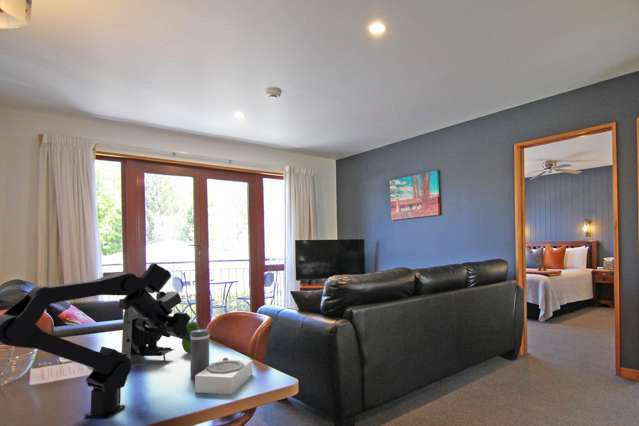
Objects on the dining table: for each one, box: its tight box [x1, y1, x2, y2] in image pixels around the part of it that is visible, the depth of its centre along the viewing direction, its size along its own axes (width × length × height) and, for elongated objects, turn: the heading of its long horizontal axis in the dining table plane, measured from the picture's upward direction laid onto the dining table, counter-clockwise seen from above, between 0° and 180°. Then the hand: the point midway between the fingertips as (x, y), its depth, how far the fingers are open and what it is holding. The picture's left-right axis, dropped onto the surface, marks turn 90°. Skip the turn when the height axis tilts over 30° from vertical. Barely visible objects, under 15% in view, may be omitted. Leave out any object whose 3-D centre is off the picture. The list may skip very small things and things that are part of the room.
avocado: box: [181, 321, 201, 354], centre depth 146 cm, size 8×8×12 cm
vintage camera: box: [121, 307, 175, 363], centre depth 137 cm, size 10×15×20 cm, turn 78°
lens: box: [190, 328, 211, 381], centre depth 119 cm, size 6×6×14 cm
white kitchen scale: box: [194, 357, 254, 395], centre depth 113 cm, size 16×11×5 cm
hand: (179, 337), depth 113 cm, fingers open, 9 cm apart
